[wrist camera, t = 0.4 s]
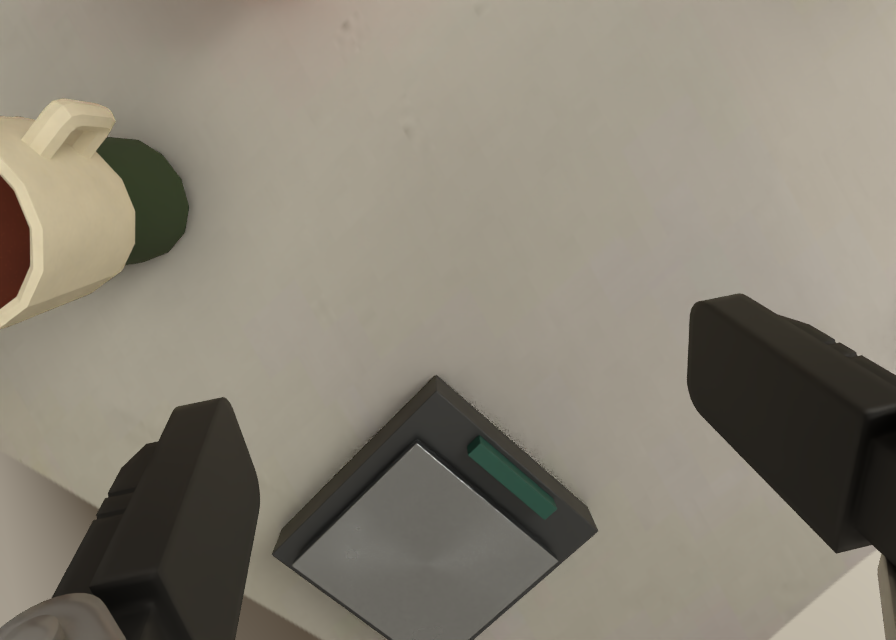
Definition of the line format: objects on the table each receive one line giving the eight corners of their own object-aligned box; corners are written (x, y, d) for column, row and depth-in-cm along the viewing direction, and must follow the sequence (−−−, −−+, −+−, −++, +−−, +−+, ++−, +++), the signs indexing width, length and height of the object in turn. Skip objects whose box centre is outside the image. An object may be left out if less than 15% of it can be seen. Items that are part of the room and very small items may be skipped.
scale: (436, 374, 34) (436, 397, 30) (588, 507, 36) (603, 542, 33) (281, 529, 36) (266, 566, 33) (434, 643, 39) (434, 688, 36)
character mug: (139, 68, 29) (-86, 1, 16) (252, 170, 30) (127, 182, 18) (15, 228, 31) (-271, 279, 18) (128, 318, 32) (-65, 421, 20)
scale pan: (416, 437, 32) (416, 443, 31) (556, 554, 34) (558, 561, 33) (293, 559, 33) (291, 566, 33) (433, 661, 36) (434, 670, 35)
